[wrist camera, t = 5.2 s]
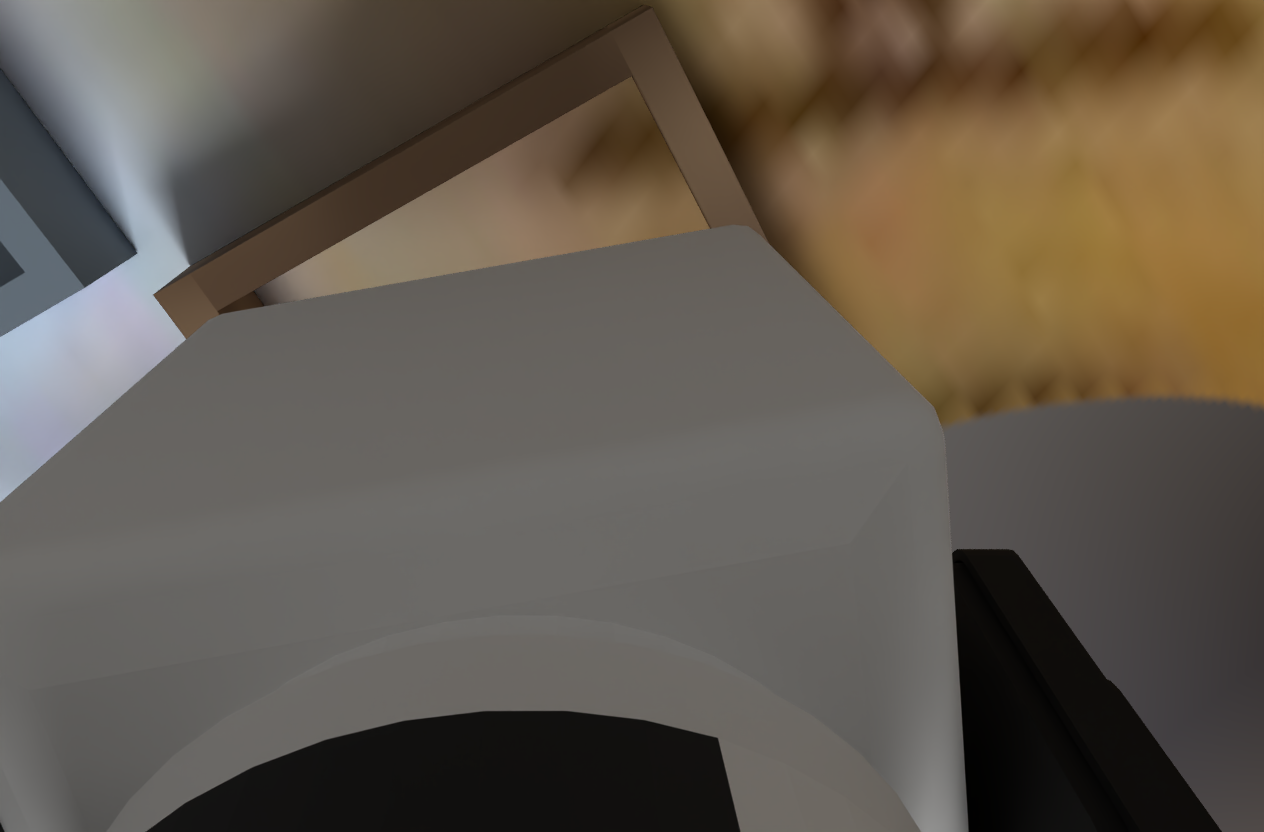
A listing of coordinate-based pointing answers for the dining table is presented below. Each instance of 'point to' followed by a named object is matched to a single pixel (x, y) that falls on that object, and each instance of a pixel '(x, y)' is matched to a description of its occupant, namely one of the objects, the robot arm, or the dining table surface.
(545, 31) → the dining table surface
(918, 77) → the dining table surface
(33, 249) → the tray
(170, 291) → the collar
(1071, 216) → the dining table surface
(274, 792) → the medicine bottle
